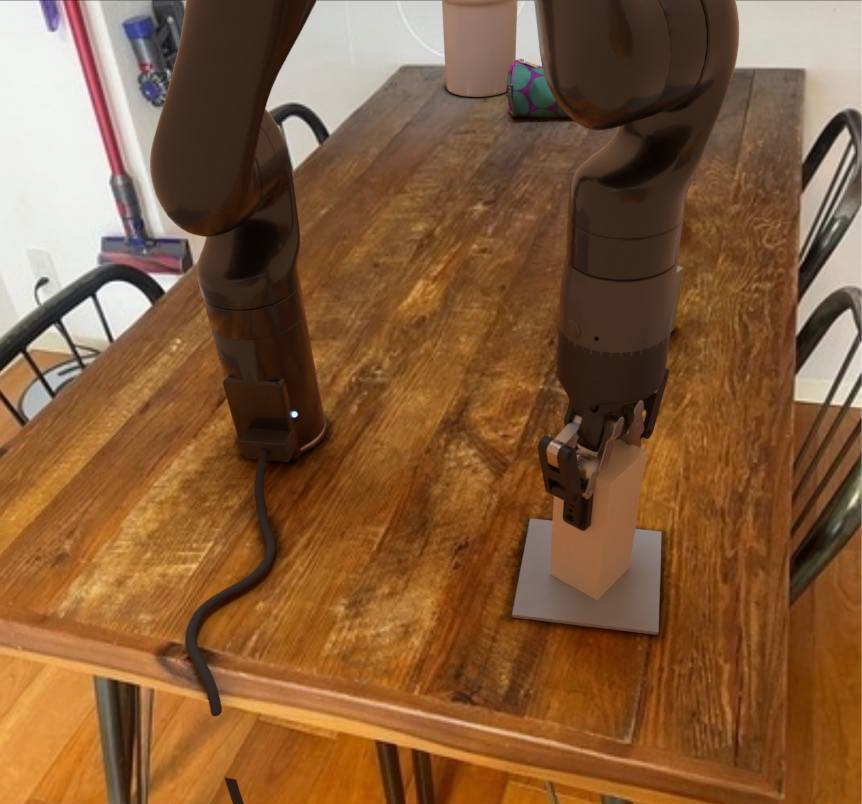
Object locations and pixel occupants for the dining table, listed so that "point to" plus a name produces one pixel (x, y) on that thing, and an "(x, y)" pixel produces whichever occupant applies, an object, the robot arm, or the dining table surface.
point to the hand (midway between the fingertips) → (596, 505)
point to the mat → (561, 603)
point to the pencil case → (530, 92)
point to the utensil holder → (479, 45)
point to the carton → (601, 525)
